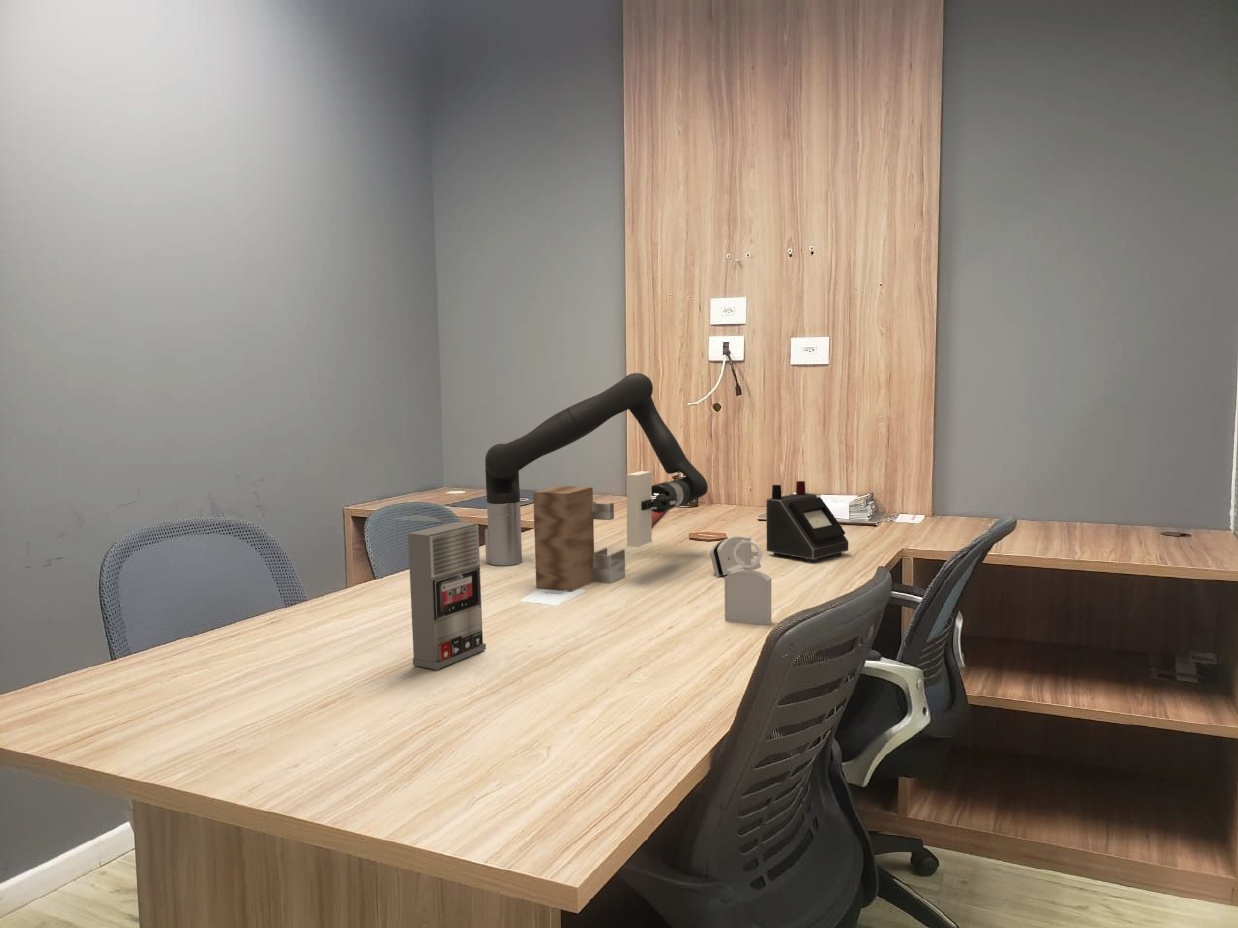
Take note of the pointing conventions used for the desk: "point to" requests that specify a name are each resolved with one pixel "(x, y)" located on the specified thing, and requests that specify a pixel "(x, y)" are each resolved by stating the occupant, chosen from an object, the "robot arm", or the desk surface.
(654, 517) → the blood vessel
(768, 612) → the gravestone
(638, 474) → the beige rectangular block
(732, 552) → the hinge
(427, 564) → the cassette tape recorder
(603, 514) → the cabinet
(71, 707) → the desk surface
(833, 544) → the voltmeter
